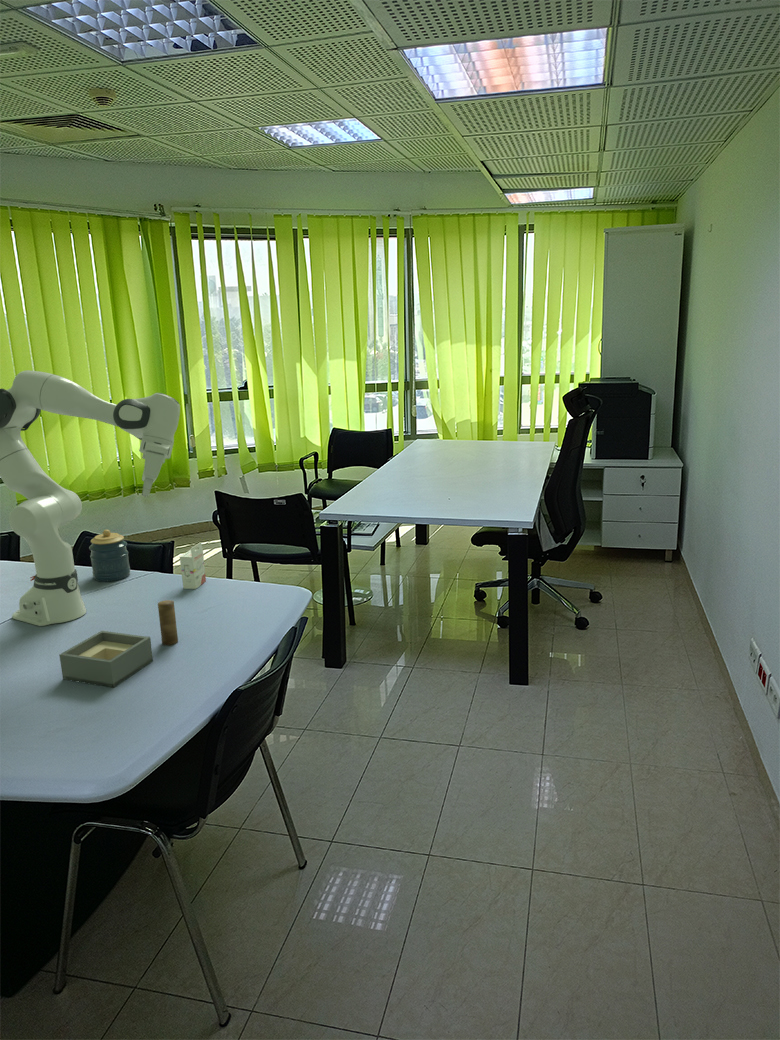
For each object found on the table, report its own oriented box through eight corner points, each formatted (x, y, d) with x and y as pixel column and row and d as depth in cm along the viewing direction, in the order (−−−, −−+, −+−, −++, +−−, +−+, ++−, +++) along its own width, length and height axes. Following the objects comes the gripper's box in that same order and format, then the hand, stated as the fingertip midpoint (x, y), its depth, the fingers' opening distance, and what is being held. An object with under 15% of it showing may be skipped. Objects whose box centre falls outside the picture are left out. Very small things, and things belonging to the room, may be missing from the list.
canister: (86, 581, 270) (79, 534, 266) (104, 570, 283) (98, 524, 278) (120, 582, 268) (114, 535, 264) (137, 570, 281) (131, 525, 276)
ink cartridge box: (193, 580, 269) (189, 540, 265) (206, 581, 268) (202, 541, 264) (182, 588, 261) (178, 548, 257) (195, 589, 260) (191, 548, 256)
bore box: (63, 679, 196) (59, 654, 194) (104, 653, 211) (101, 630, 209) (113, 687, 191) (110, 662, 189) (153, 661, 205) (150, 637, 203)
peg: (158, 644, 216) (154, 604, 213) (168, 638, 220) (163, 599, 217) (172, 646, 214) (167, 606, 211) (181, 640, 218) (177, 601, 215)
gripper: (143, 450, 228) (133, 494, 227) (145, 442, 209) (134, 491, 208) (164, 455, 230) (154, 499, 229) (169, 448, 211) (158, 496, 210)
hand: (145, 495), depth 218 cm, fingers open, 8 cm apart
